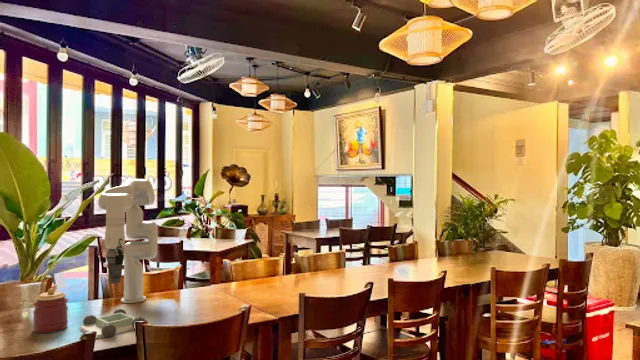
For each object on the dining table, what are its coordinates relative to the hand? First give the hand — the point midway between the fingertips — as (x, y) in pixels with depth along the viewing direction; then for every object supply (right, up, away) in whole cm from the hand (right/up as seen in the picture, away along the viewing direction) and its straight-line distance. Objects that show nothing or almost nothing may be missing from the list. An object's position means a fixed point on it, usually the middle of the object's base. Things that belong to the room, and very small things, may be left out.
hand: (115, 262), depth 195 cm
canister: (-27, -29, -2) cm, 39 cm away
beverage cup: (0, -9, 0) cm, 9 cm away
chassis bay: (0, -29, 0) cm, 29 cm away
